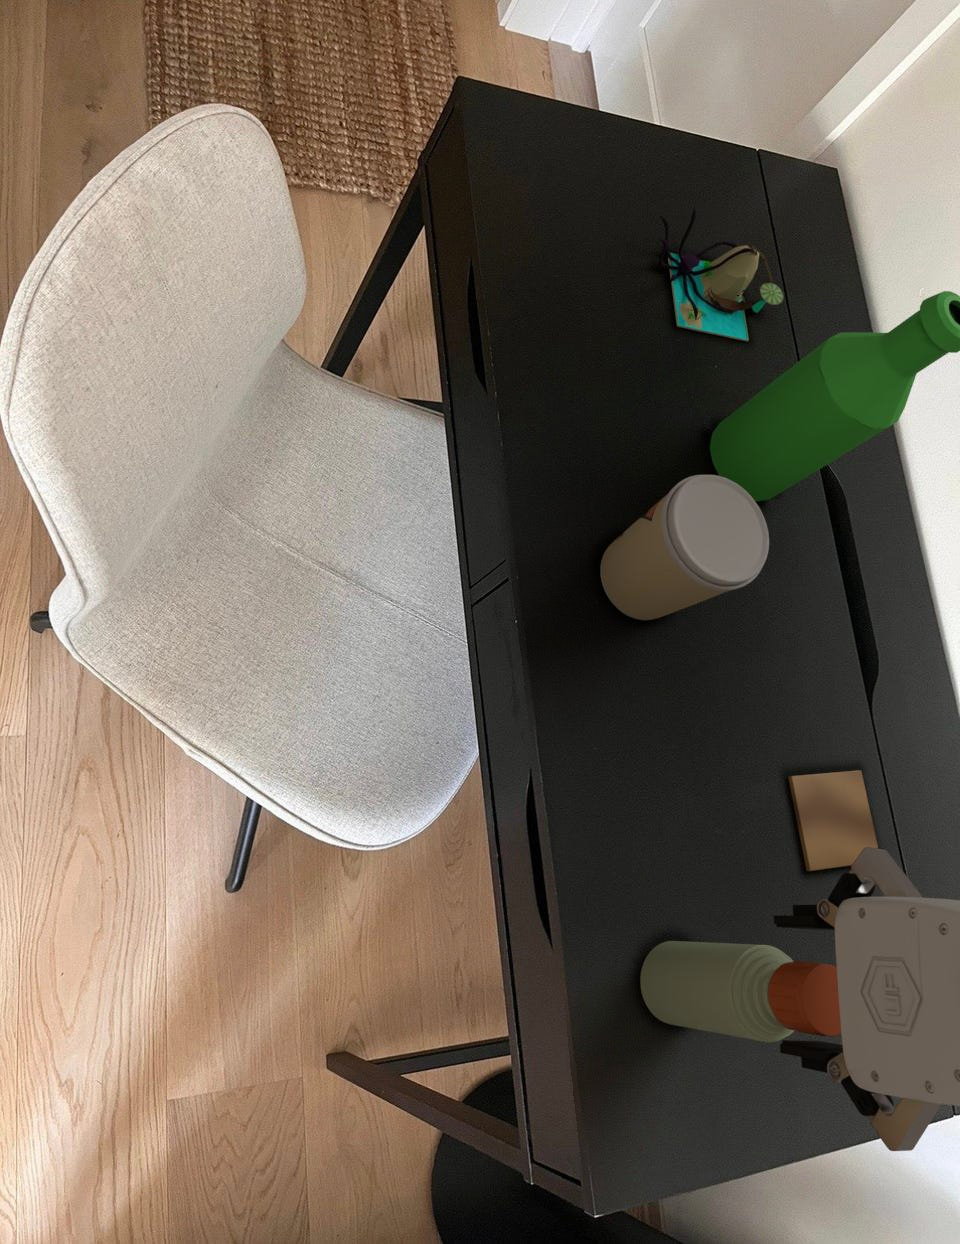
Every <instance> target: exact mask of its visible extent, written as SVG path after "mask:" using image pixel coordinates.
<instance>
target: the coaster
mask: <svg viewBox="0 0 960 1244" xmlns="http://www.w3.org/2000/svg"><path fill="white" fill-rule="evenodd" d="M787 778H788V779H787V780H788V783H789V789H790V794H791V799H792V803H793V804H792V805H793V809H794V813H795V819H796V824H797V829H798V835H799V839H800V844H801V850H802V855H803V861H804V865H805V870H806V872H813V871H821V870H828V869H836V868H842V867H851V866H852V864H853V863H854V861H855V860H856V859H857V857H858V856H859V854H860V853H861V851H862V850H863V849H864V848H866V847H870V848H879V845H878V840H877V836H876V832H875V827H874V822H873V818H872V813H871V808H870V803H869V800H868V799H869V798H868V795H867V791H866V786H865V781H864V776H863V771H862V770H861V769H860V770H858V769H857V770H847V771H837V772H836V771H835V772H834V771H833V772H824V773H823V772H821V773H813V774H803V775H802V774H801V775H789V776H788V777H787Z"/></svg>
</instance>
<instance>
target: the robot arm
mask: <svg viewBox="0 0 960 1244" xmlns="http://www.w3.org/2000/svg"><path fill="white" fill-rule="evenodd" d="M850 868H851V869H849V871H848V872H845V873H844V872H843V873H842V875H840V877H839V879H838V880H837V882H836V884H835V886H834V887H833V888H832V891H831V892H830V894H829V896H828V897H827V898H821V899H819V900H818V901H817V904H792V915H773V924H774V925H776V926H775V927H776V928H782V929H797V930H813V931H814V930H821V931H822V930H823V931H824V930H825V931H829V930H830V931H834V943H835V944H834V946H835V963H836V967H837V981H838V996H839V1009H840V1022H841V1034H840V1035H841V1043H842V1044H839V1043H833V1042H828V1041H822V1040H793V1039H792V1040H790V1039H789V1040H787V1039H785V1040H784V1039H781V1043H779V1052H780V1054H785V1055H789V1056H794V1057H798V1058H800V1060H801V1063H800V1064H801V1068H803V1069H806V1070H810V1071H811V1070H812V1071H816V1072H822V1073H825V1074H827V1075H828V1077H829V1078H830V1080H831V1081H833V1082H834V1083H839V1084H841V1086H842V1087H843V1089H844V1091H845V1092H846V1094H847V1095H848V1097H849V1098H850V1100H851V1102H852V1104H853V1105H854V1107H855V1108H856V1110H857V1111H858V1112H859V1114H860V1115H862V1116H863V1117H867V1119H868V1120H869V1121H870V1126H871V1127H872V1129H873V1130H874V1131H875V1133H876V1134H877V1135H878V1137H879V1138H880V1140H881V1142H882V1143H883V1144H884V1145H885V1147H886V1148H887V1149H888V1150H889V1151H890V1152H910V1151H913V1150H914V1149H915V1148H916V1146H917V1145H918V1143H919V1141H920V1140H921V1138H922V1136H924V1133H925V1132H926V1130H927V1128H928V1127H929V1125H930V1123H931V1122H932V1121H933V1119H934V1118H935V1115H936V1114H937V1112H938V1111H939V1110H940V1108H941V1106H942V1105H946V1106H947V1105H948V1106H954V1107H960V899H959V900H958V899H949V898H936V897H935V898H934V897H923V895H922V893H921V892H920V891H919V890H918V889H917V888H916V886H915V885H914V884H913V882H912V881H911V880H910V878H909V877H908V876H907V875H906V873H905V872H904V871H903V869H902V868H901V867H900V865H899V864H898V863H897V862H896V861H895V859H894V858H893V857H892V856H891V854H890V852H888V851H887V849H884V848H879V847H878V848H870V847H866V848H864V849H863V850H862V851H861V853H860V854H859V856H858V857H857V859H856V860H855V861H854V863H853V864H852V865H851V866H850ZM876 887H878V889H879V890H880V892H881V894H883V896H873V895H874V892H875V890H876ZM892 1097H893V1098H900V1100H899V1102H898V1103H897V1104H896V1105H894V1099H893V1098H892Z"/></svg>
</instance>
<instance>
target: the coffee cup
mask: <svg viewBox="0 0 960 1244" xmlns="http://www.w3.org/2000/svg"><path fill="white" fill-rule="evenodd" d="M769 548H770V535H769V529H768V525H767V522H766V519H765V516H764V515H763V512H762V510H761V508H760V506H759V505H758V504H757V501H754V499H753V498H752V497H751V496H750V495H749V494H748V493H747V492H746V491H745V490H744V489H743V488H742V487H741V486H739V485H738V484H736V483H735V482H733V481H731V480H729V479H727V478H724V477H721V476H719V475H718V474H717V475H716V474H696V475H691V476H688V477H686V478H684V479H682V480H681V481H679V482H677V484H675V485H674V486H673V487H672V488H671V489H670V491H669V492H668V493H667V494H665V496H664V497H662V498H661V499H660V500H659V501H658V502H656V503H655V504H654V505H653V506H652V507H650V508H649V509H648V511H646V512H645V513H644V514H643V515H642V516H641V517H639V518H638V519H637V520H636V521H635V522H634V523H632V524H631V525H630V526H629V527H628V528H627V529H626V530H625V531H623V532H622V533H621V534H620V535H619V536H618V537H616V539H614V540H613V541H612V542H611V543H610V545H608V547H607V548H606V549H605V551H604V553H603V555H602V558H601V561H600V569H599V571H600V573H599V574H600V580H601V584H602V588H603V590H604V592H605V594H606V596H607V598H608V599H609V601H610V602H611V603H612V605H613V606H614V607H616V609H617V610H619V611H620V612H621V613H622V614H624V615H626V616H628V617H630V618H632V619H635V620H641V621H652V620H656V619H659V618H661V617H665V616H668V615H670V614H673V613H676V612H679V611H681V610H683V609H686V608H688V607H691V606H694V605H697V604H700V603H702V602H704V601H707V600H709V599H712V598H715V597H717V596H719V595H722V594H725V593H727V592H731V591H734V590H738V589H740V588H744V587H746V586H747V585H748V584H750V583H752V582H753V581H754V580H755V579H756V578H757V577H758V575H759V574H760V573H761V571H762V569H763V567H764V565H765V563H766V560H767V558H768V556H769V555H768V554H769Z"/></svg>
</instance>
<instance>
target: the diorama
mask: <svg viewBox="0 0 960 1244" xmlns="http://www.w3.org/2000/svg"><path fill="white" fill-rule="evenodd" d="M659 218H660V219H661V220H662V222H663V225H664V230H665V235H664V236H665V238H659V239H658V241H659V242H661V243H662V250H661V253H660V255H659V260H658V265H659V266H660V267H661V268H663V269H667V270H669V276H670V281H669V284H671V291H672V292H671V293H672V298H673V306H674V307H673V308H674V314H675V324H676V327H678V328H681V329H687V330H691V331H695V332H700V333H706V334H711V335H713V336H714V335H715V336H719V337H724V338H729V339H733V340H738V341H743V342H749V341H750V340H749V332H748V325H747V319H746V312H745V310H749V309H752V311H753V312H754V313H759V312H760V311H761V309H762V308H763V307H764V305H765V304H766V303H767V304H769V305H772V306H778V305H781V303H783V301H784V293H783V291H782V289H781V288H780V286H778V285H777V284H775V283H773V282H774V279H773V276H772V272H771V269H770V265H769V262H768V259H766V255H765V254H763V253H762V252H761V251H760V250H759V249H758V248H757V247H755V245H753V244H751V245H750V246H748V245H745V244H744V245H741V246H738V245H737V243H734V242H730V241H719V242H715V243H713V244H712V245H710V246H708V247H706V248H704V249H703V250H701V251H700V252H699V253H698V254H697V255H695V254H694V253H692V252H690V251H686V253H685V254H684V255H683V251H684V250H683V249H684V246H685V243H686V241H687V239H688V236H689V234H690V232H691V230H692V228H693V226H694V224H695V220H696V219H697V210H696V207H695V206H693V209H692V214H691V217H690V218H691V219H690V221H689V224H688V227H687V229H686V231H685V232H684V234H683V237H682V239H681V241H680V245H679V248H678V253H674V252H670V249H669V236H670V235H669V234H670V232H669V231H670V229H669V221H668V220H667V219H666V218H665V217H664V216H661V215H659ZM718 246H728V247H732V249H730V250H729V251H727V252H725V253H724V254H722V255H720V256H719V257H717V258H716V259H714V260H712V261H709V260H702V259H700V258H702V257H703V256H704V255H705V254H706V253H708V252H709V251H711V250H713V249H716V248H717V247H718ZM665 254H666V257H667V261H668V264H666V263H664V261H663V258H664V255H665ZM760 258H761V259H760ZM761 262H762V263H763V262H764V266H765V269H766V273H767V276H768V278H766V277H761V276H759V275H755V274H756V272H757V270H758V267H759V263H761ZM713 270H714V271H713ZM753 279H754V280H758V281H763V282H765V283H763V284H761V286H760V288H759V294H760V296H761V298H762V299H761V300H759V301H758V302H756V303H754V305H753V302H747V303H746V298H745V297H744V296H743V294H744V293H745V291H746V289H748V286H749V285H750V283H751V282H752V281H753ZM743 290H745V291H743ZM742 291H743V292H742ZM737 295H739V296H737ZM741 301H742V302H741ZM741 303H742V304H741ZM748 303H749V305H748Z"/></svg>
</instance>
